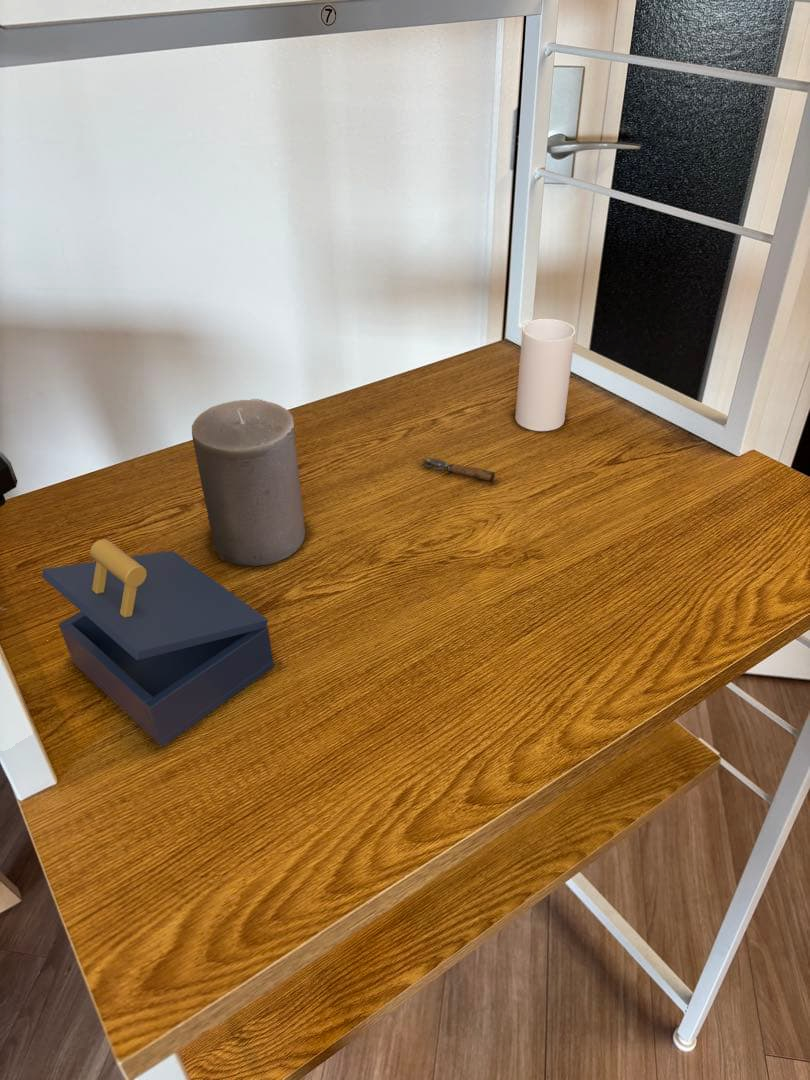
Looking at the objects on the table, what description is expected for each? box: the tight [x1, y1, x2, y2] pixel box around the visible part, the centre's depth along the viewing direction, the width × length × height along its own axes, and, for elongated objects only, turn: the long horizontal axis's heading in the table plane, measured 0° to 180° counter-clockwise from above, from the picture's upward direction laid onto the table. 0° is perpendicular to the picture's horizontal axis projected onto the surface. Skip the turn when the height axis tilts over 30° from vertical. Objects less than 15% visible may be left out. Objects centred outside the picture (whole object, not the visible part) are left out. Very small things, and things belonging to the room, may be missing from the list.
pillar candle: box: [191, 398, 306, 567], centre depth 82 cm, size 10×10×15 cm
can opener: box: [421, 458, 496, 482], centre depth 95 cm, size 9×2×1 cm, turn 61°
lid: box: [41, 538, 269, 660], centre depth 67 cm, size 12×14×5 cm
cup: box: [514, 318, 576, 432], centre depth 101 cm, size 6×6×12 cm
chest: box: [58, 610, 275, 748], centre depth 71 cm, size 12×14×5 cm
